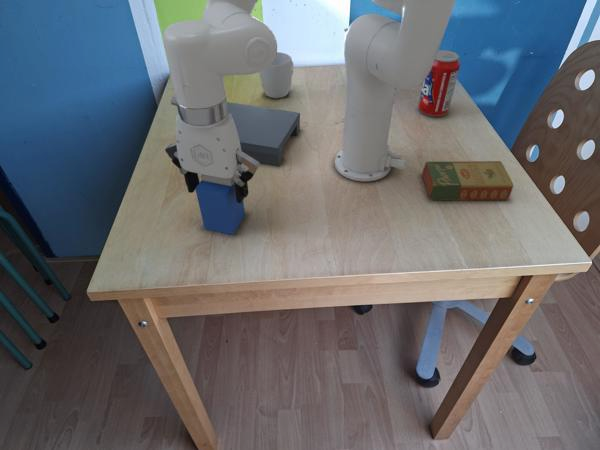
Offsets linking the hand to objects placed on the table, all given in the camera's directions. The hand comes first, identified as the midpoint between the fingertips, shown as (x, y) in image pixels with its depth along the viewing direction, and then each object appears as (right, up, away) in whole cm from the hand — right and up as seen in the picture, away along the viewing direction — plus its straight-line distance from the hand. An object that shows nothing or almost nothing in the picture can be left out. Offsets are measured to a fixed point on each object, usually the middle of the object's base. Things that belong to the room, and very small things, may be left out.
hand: (217, 193), depth 78 cm
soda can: (+50, +24, +35) cm, 66 cm away
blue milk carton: (0, -5, +5) cm, 7 cm away
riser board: (+1, +15, +26) cm, 30 cm away
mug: (+9, +33, +45) cm, 56 cm away
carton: (+50, +2, +12) cm, 51 cm away
